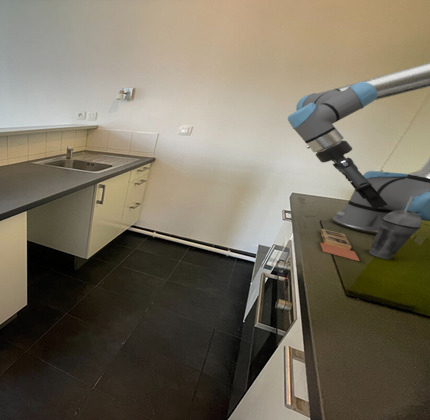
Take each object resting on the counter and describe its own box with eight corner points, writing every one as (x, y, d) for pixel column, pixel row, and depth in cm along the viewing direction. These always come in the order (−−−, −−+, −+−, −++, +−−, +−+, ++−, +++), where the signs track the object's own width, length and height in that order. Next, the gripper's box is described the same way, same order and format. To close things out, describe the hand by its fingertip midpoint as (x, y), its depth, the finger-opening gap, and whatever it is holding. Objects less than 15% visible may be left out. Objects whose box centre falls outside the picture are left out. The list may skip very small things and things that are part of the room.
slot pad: (320, 243, 85) (320, 242, 85) (354, 251, 80) (354, 251, 80) (322, 251, 79) (323, 251, 79) (359, 261, 75) (359, 261, 74)
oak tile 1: (319, 232, 94) (321, 228, 93) (342, 237, 90) (344, 233, 89) (321, 237, 89) (323, 233, 89) (345, 243, 86) (348, 239, 85)
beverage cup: (405, 263, 75) (448, 202, 67) (377, 259, 76) (416, 199, 69) (381, 251, 81) (418, 194, 74) (355, 248, 83) (389, 192, 75)
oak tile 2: (322, 238, 89) (324, 234, 88) (346, 244, 85) (348, 240, 84) (324, 244, 84) (326, 239, 84) (349, 250, 81) (352, 246, 80)
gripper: (311, 150, 91) (350, 198, 88) (317, 157, 74) (366, 217, 70) (338, 137, 86) (380, 187, 83) (352, 141, 69) (407, 205, 65)
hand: (374, 201), depth 77 cm, fingers open, 13 cm apart
